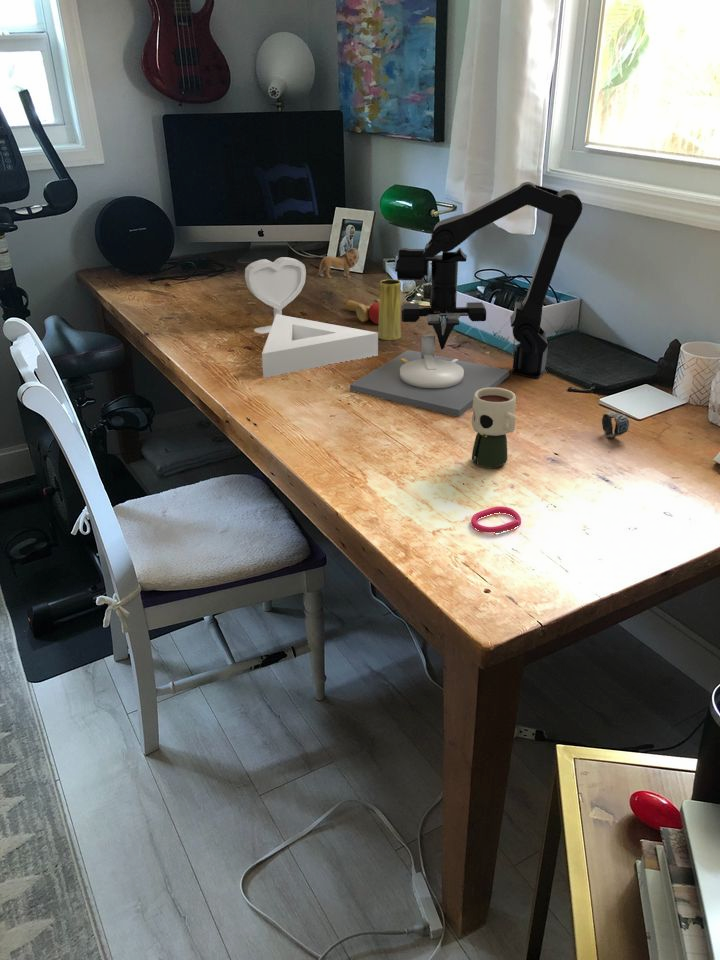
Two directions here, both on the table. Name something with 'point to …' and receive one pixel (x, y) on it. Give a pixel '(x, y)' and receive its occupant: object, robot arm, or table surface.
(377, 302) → the kendama
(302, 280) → the heart sculpture
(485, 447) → the character mug
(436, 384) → the dial
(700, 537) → the table surface
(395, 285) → the vase
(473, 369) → the dial plate
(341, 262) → the lion figurine
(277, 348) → the triangle block
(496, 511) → the fitness band
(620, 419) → the wristwatch
